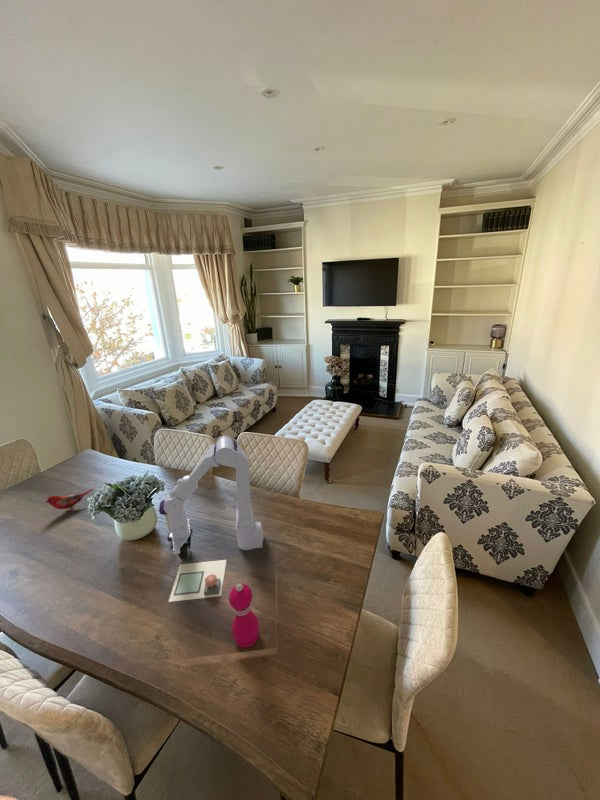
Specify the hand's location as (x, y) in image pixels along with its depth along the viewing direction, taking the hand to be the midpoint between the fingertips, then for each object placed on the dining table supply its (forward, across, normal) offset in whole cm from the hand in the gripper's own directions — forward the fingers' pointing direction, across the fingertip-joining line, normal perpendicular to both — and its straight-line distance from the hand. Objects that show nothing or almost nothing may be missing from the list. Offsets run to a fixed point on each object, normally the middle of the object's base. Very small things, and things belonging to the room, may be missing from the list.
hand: (185, 553), depth 117 cm
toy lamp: (+2, -11, -8) cm, 14 cm away
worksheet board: (+2, +11, +7) cm, 13 cm away
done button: (-1, +15, +12) cm, 19 cm away
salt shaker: (+2, 0, 0) cm, 2 cm away
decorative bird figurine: (+2, -35, -58) cm, 68 cm away
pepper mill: (+2, +31, +24) cm, 39 cm away
